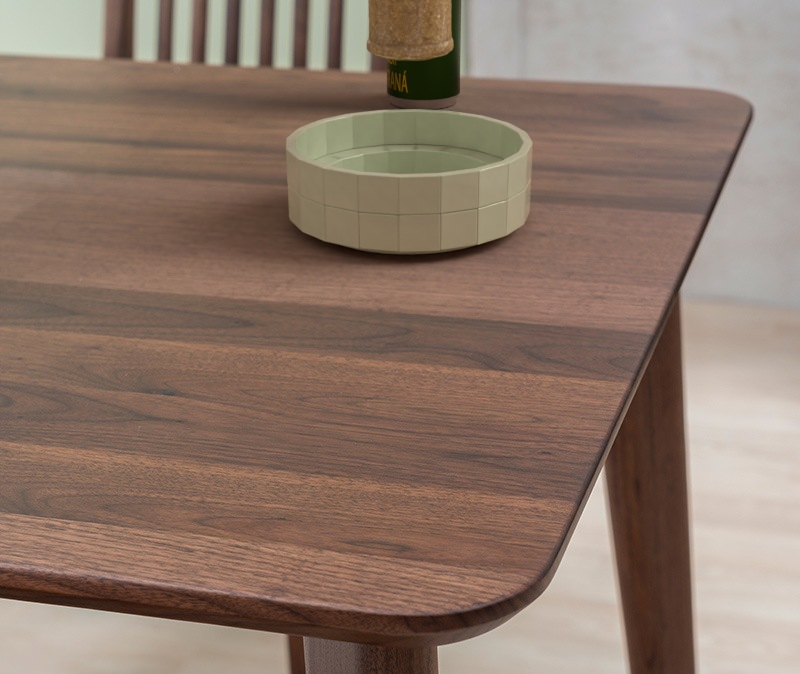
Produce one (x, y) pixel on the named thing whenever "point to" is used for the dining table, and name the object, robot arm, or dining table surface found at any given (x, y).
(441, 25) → the sprinkles bottle
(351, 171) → the dish
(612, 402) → the dining table surface
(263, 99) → the dining table surface
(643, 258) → the dining table surface
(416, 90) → the green drink can
